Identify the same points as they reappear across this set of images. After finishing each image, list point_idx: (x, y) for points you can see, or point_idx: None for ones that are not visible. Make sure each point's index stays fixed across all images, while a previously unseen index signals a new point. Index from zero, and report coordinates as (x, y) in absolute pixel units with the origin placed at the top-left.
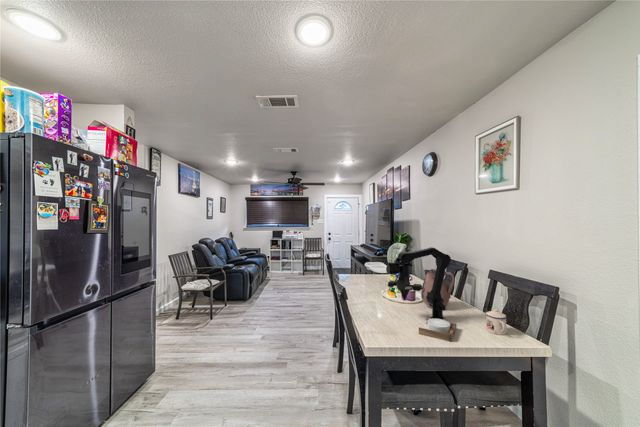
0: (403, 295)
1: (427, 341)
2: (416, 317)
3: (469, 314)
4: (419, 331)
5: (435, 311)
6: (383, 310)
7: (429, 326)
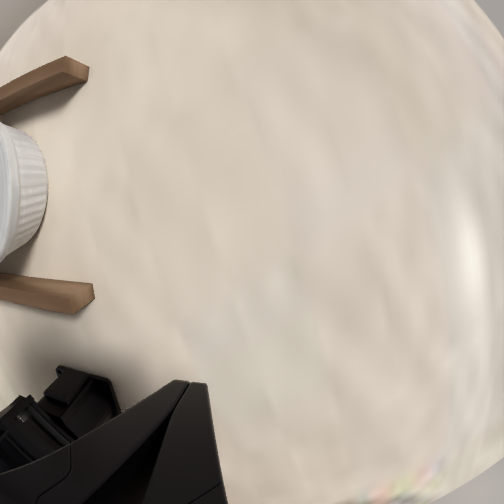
0: (168, 459)
1: (50, 27)
2: (192, 374)
3: None
4: (74, 63)
5: (56, 404)
6: (452, 371)
7: (15, 136)
